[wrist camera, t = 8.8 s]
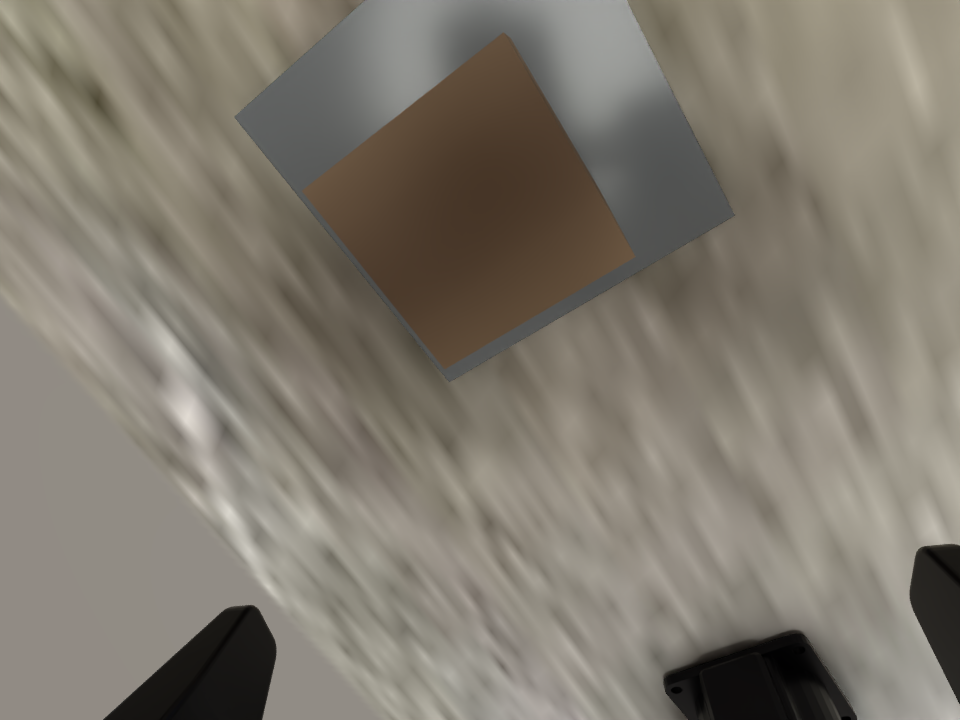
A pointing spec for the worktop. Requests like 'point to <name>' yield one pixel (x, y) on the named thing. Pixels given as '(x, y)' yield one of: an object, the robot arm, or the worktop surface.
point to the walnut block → (472, 207)
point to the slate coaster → (561, 77)
